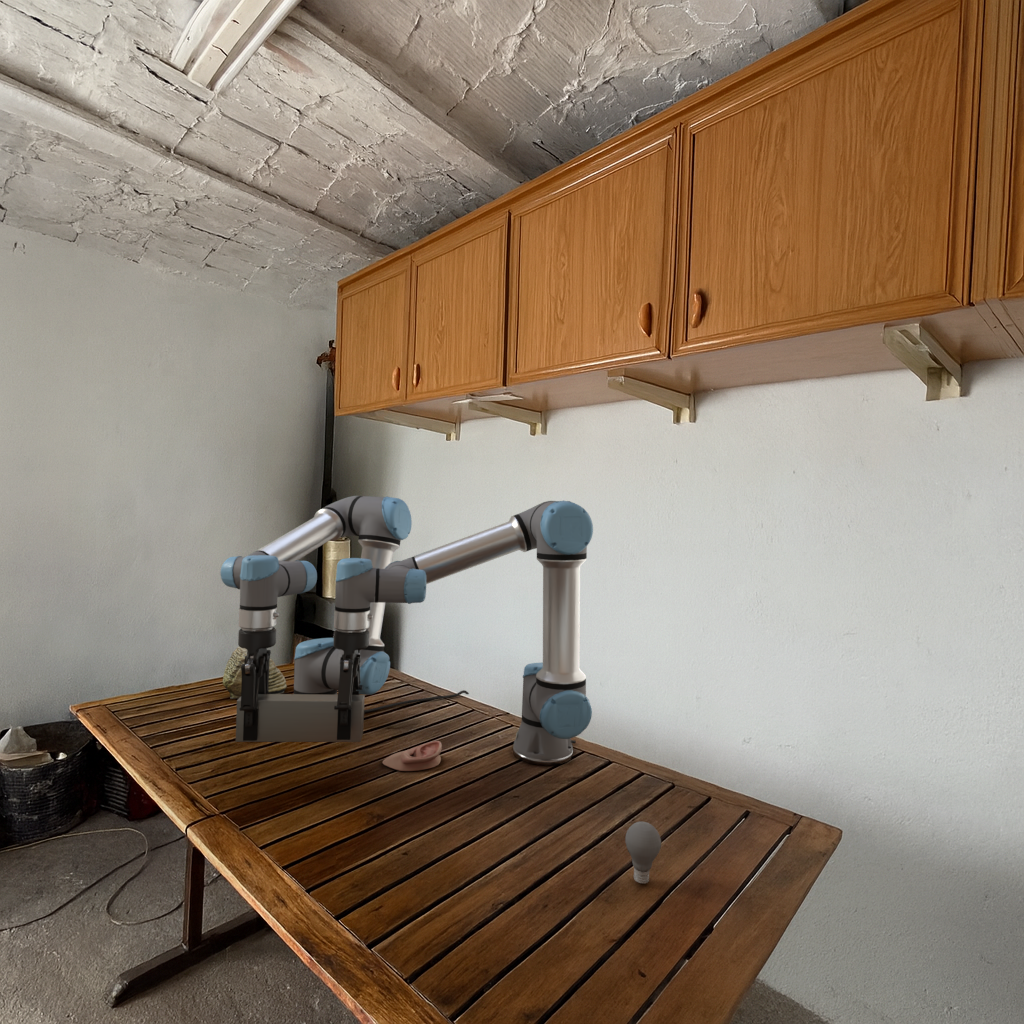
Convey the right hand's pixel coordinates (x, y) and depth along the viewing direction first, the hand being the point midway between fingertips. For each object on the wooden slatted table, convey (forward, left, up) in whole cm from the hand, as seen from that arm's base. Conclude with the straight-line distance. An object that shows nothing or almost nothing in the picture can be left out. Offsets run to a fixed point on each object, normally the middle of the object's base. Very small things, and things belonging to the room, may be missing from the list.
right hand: (347, 729), depth 139 cm
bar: (+9, -4, -2) cm, 10 cm away
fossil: (+12, -73, -13) cm, 75 cm away
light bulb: (-38, +54, -13) cm, 67 cm away
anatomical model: (-18, -7, -13) cm, 23 cm away
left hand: (+18, -7, -1) cm, 20 cm away
